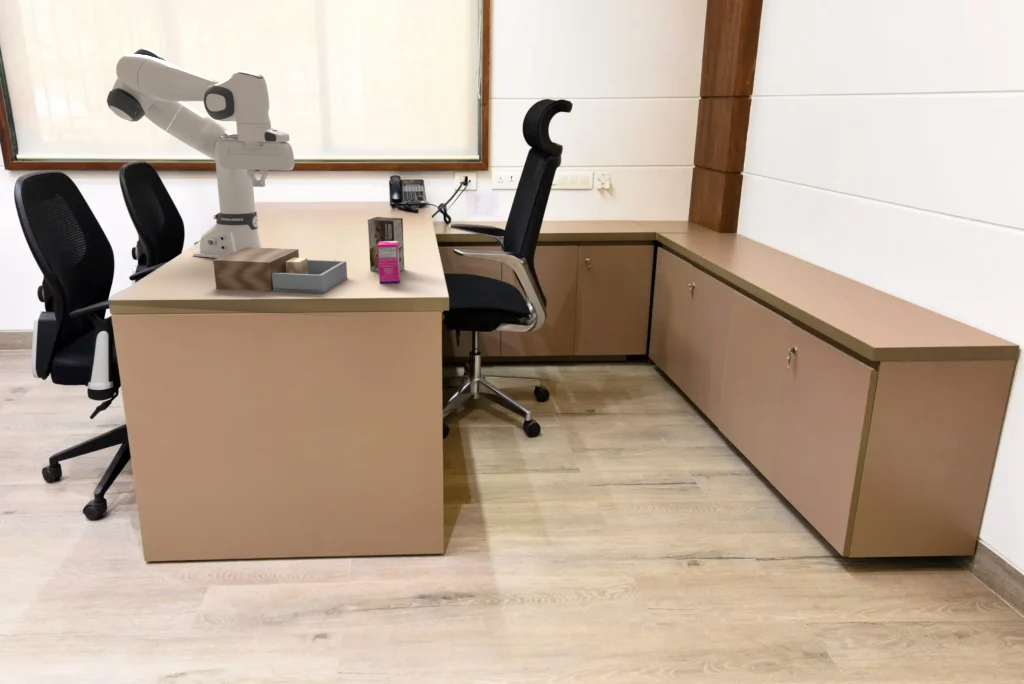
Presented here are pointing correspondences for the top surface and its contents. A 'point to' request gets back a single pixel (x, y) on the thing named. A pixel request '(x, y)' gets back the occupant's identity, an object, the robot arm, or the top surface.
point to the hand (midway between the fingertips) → (258, 186)
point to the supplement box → (388, 262)
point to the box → (312, 277)
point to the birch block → (297, 266)
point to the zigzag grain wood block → (251, 268)
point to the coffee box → (385, 238)
